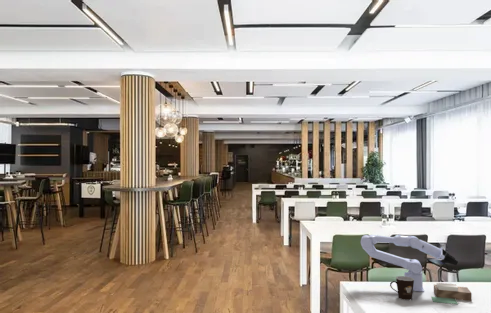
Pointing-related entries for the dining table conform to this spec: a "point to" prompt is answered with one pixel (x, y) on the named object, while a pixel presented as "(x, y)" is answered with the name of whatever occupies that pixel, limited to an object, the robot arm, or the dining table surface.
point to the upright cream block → (447, 287)
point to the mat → (444, 300)
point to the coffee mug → (404, 287)
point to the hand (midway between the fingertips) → (455, 261)
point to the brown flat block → (454, 293)
